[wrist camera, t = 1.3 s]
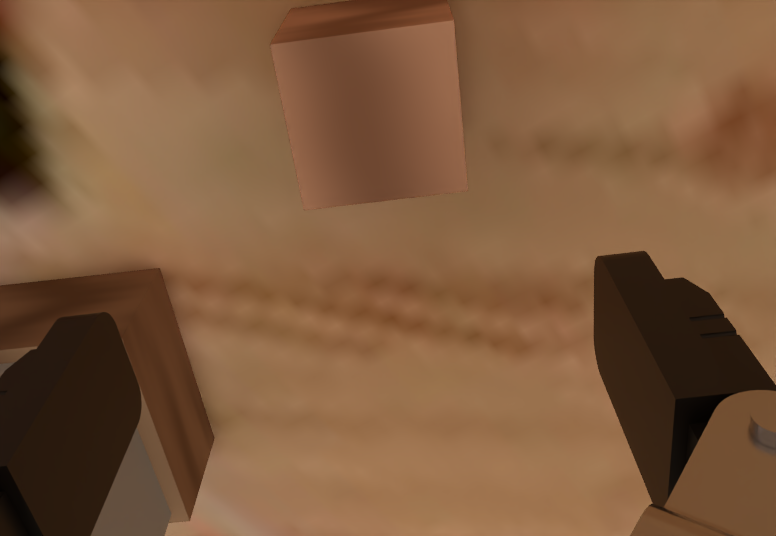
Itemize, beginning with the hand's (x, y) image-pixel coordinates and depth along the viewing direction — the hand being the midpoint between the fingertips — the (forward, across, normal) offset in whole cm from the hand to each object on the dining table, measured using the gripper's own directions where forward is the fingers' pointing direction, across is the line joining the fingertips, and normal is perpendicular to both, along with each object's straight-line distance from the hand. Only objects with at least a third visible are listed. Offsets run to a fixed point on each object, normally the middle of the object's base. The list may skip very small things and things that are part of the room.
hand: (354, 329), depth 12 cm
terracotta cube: (+15, 0, 0) cm, 15 cm away
